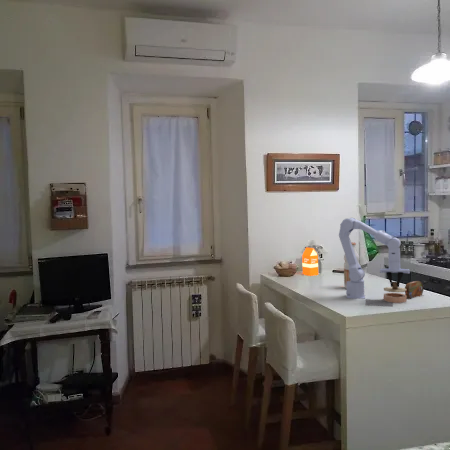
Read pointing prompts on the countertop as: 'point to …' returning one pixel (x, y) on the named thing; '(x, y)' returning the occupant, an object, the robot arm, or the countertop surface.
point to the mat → (378, 303)
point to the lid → (394, 288)
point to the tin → (414, 289)
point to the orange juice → (310, 262)
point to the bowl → (395, 297)
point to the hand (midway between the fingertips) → (394, 286)
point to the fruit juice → (346, 265)
